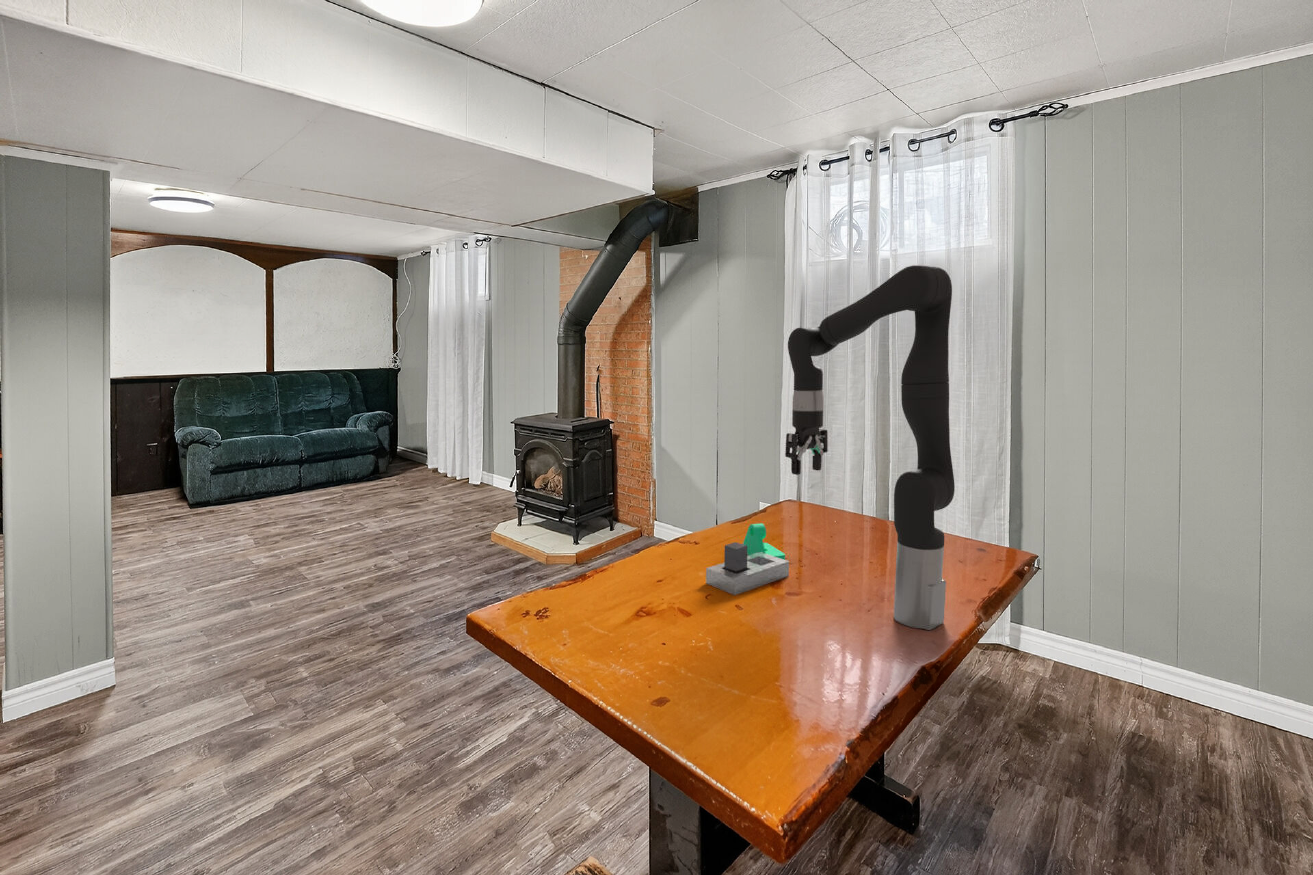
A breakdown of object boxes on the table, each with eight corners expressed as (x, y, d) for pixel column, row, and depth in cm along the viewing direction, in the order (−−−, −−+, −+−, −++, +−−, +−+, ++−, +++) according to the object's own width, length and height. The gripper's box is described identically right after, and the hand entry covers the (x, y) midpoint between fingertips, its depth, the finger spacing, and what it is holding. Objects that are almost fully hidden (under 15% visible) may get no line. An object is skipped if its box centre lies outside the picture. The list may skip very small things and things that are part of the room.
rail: (788, 575, 163) (788, 561, 162) (734, 595, 151) (735, 579, 150) (759, 565, 171) (759, 551, 170) (706, 583, 158) (706, 568, 158)
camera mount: (786, 564, 173) (787, 527, 171) (761, 567, 171) (761, 530, 169) (766, 550, 184) (766, 516, 183) (742, 553, 182) (742, 519, 180)
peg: (746, 584, 158) (747, 545, 156) (735, 588, 155) (736, 549, 154) (735, 579, 161) (735, 542, 159) (724, 583, 158) (724, 545, 157)
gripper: (802, 411, 149) (801, 478, 152) (837, 407, 159) (835, 470, 161) (777, 409, 155) (776, 473, 157) (812, 405, 164) (811, 466, 166)
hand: (806, 472), depth 159 cm, fingers open, 8 cm apart
